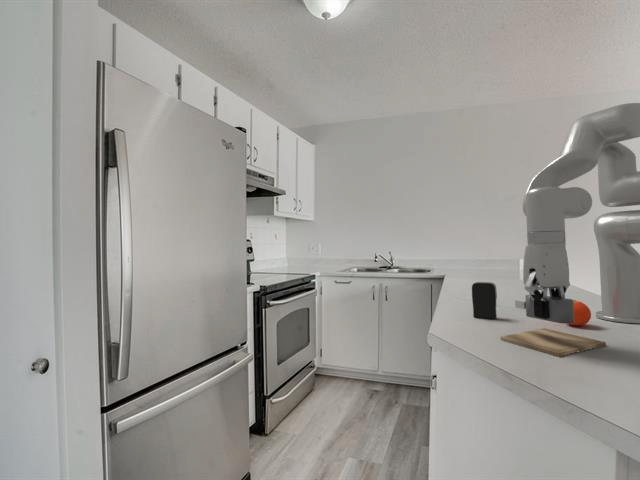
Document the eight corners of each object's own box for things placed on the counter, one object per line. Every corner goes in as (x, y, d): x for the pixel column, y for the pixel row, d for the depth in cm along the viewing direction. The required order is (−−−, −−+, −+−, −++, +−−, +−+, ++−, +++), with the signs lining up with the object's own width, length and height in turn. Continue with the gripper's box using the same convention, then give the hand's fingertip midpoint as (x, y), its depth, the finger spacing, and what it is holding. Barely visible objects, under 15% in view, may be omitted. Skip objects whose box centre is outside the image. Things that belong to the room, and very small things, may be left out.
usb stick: (579, 322, 75) (578, 300, 75) (566, 324, 73) (565, 301, 73) (525, 312, 86) (525, 293, 87) (513, 313, 85) (513, 294, 85)
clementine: (572, 329, 88) (570, 303, 89) (551, 323, 95) (549, 299, 95) (598, 327, 90) (597, 301, 90) (575, 321, 96) (574, 297, 96)
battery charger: (498, 317, 105) (497, 281, 105) (496, 320, 102) (495, 283, 102) (475, 315, 109) (473, 280, 110) (472, 317, 106) (470, 282, 106)
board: (544, 331, 88) (544, 327, 88) (606, 345, 75) (605, 341, 75) (500, 339, 82) (500, 336, 82) (558, 356, 69) (558, 352, 69)
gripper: (553, 239, 86) (556, 310, 85) (506, 240, 79) (509, 317, 79) (585, 238, 79) (589, 315, 78) (536, 239, 72) (540, 323, 72)
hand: (549, 315), depth 79 cm, fingers closed on usb stick, 4 cm apart
